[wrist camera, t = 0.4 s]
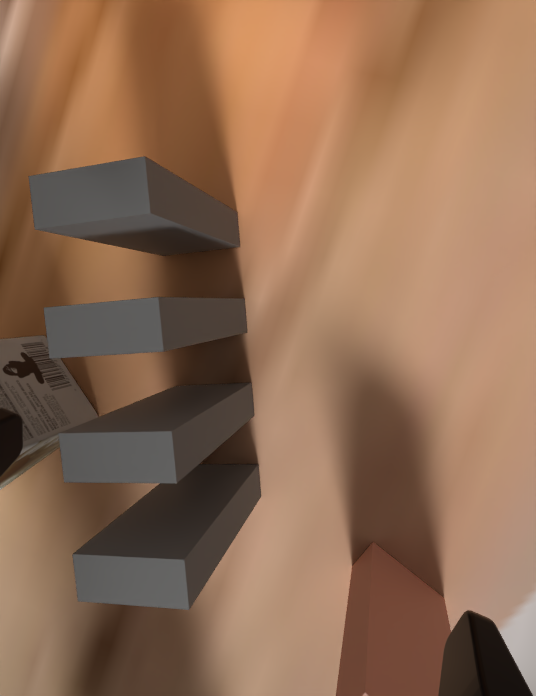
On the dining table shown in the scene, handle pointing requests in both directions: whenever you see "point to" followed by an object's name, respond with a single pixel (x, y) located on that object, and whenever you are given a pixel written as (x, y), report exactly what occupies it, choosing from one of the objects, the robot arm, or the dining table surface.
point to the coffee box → (38, 399)
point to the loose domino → (391, 631)
